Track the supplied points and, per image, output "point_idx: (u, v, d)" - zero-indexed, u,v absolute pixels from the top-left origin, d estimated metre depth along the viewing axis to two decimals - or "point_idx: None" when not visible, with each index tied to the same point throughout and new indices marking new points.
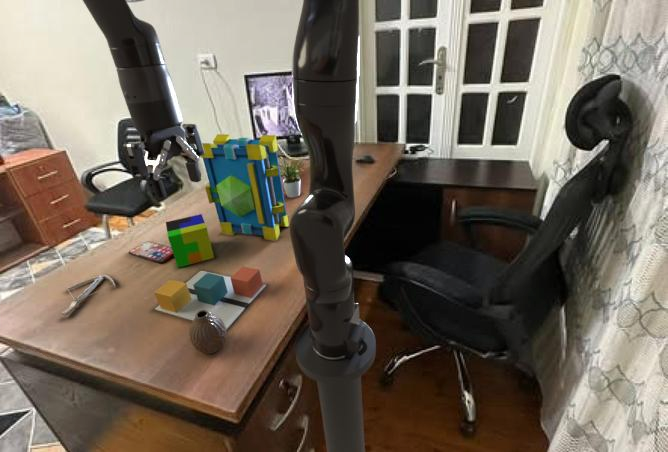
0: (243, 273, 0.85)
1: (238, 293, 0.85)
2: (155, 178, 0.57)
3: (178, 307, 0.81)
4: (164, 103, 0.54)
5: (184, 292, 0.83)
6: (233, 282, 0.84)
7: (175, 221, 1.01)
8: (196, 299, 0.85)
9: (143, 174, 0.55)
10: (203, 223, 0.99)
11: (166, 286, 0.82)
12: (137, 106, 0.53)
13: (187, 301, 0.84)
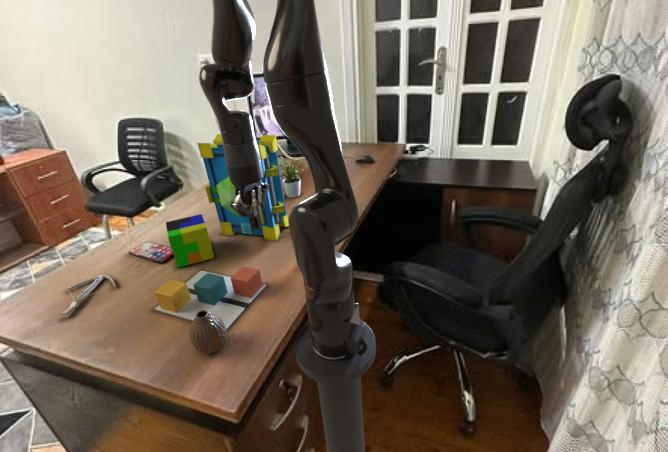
0: (243, 273, 0.85)
1: (238, 293, 0.85)
2: (255, 215, 0.83)
3: (178, 307, 0.81)
4: (255, 166, 0.77)
5: (184, 292, 0.83)
6: (233, 282, 0.84)
7: (175, 221, 1.01)
8: (196, 299, 0.85)
9: (249, 213, 0.81)
10: (203, 223, 0.99)
11: (166, 286, 0.82)
12: (237, 169, 0.75)
13: (187, 301, 0.84)
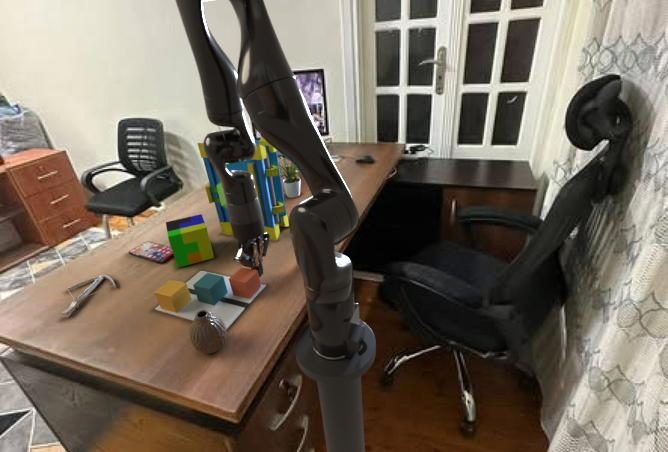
0: (241, 273, 0.84)
1: (236, 294, 0.85)
2: (257, 265, 0.87)
3: (178, 307, 0.81)
4: (256, 223, 0.80)
5: (184, 292, 0.83)
6: (231, 283, 0.83)
7: (175, 221, 1.01)
8: (196, 299, 0.85)
9: (251, 264, 0.85)
10: (203, 223, 0.99)
11: (166, 286, 0.82)
12: (239, 226, 0.79)
13: (187, 301, 0.84)
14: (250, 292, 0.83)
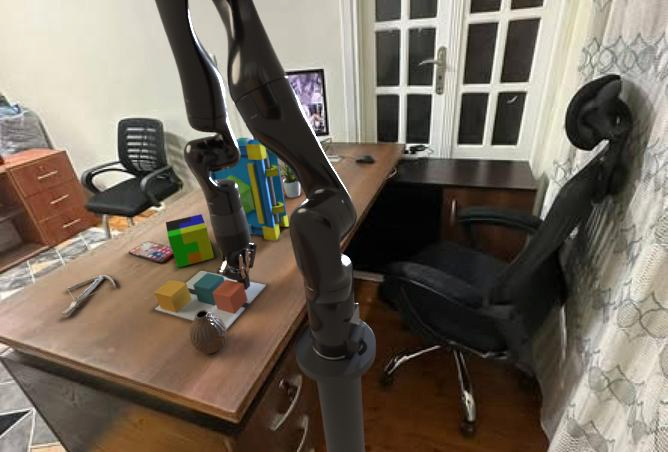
0: (225, 287, 0.80)
1: (221, 308, 0.81)
2: (243, 277, 0.82)
3: (178, 307, 0.81)
4: (241, 234, 0.76)
5: (184, 292, 0.83)
6: (215, 297, 0.79)
7: (175, 221, 1.01)
8: (196, 299, 0.85)
9: (237, 277, 0.80)
10: (203, 223, 0.99)
11: (166, 286, 0.82)
12: (223, 238, 0.75)
13: (187, 301, 0.84)
14: (235, 306, 0.79)
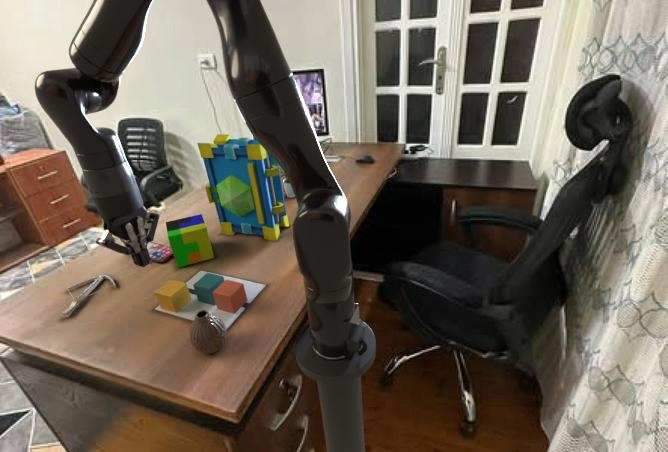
0: (226, 287, 0.80)
1: (221, 308, 0.81)
2: (136, 251, 0.69)
3: (178, 307, 0.81)
4: (124, 196, 0.62)
5: (184, 292, 0.83)
6: (215, 297, 0.79)
7: (175, 221, 1.01)
8: (196, 299, 0.85)
9: (126, 250, 0.67)
10: (203, 223, 0.99)
11: (166, 286, 0.82)
12: (100, 199, 0.61)
13: (187, 301, 0.84)
14: (235, 306, 0.79)
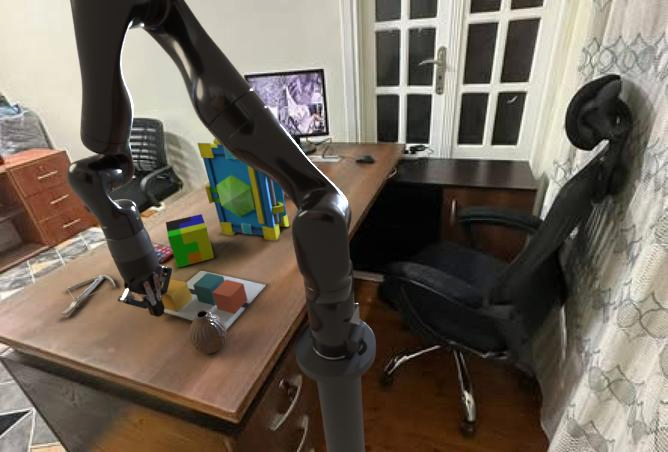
0: (226, 287, 0.80)
1: (221, 308, 0.81)
2: (153, 304, 0.76)
3: (178, 306, 0.82)
4: (143, 259, 0.70)
5: (185, 292, 0.83)
6: (215, 297, 0.79)
7: (175, 221, 1.01)
8: (196, 299, 0.85)
9: (144, 305, 0.74)
10: (203, 223, 0.99)
11: None
12: (121, 264, 0.68)
13: (188, 300, 0.84)
14: (235, 306, 0.79)
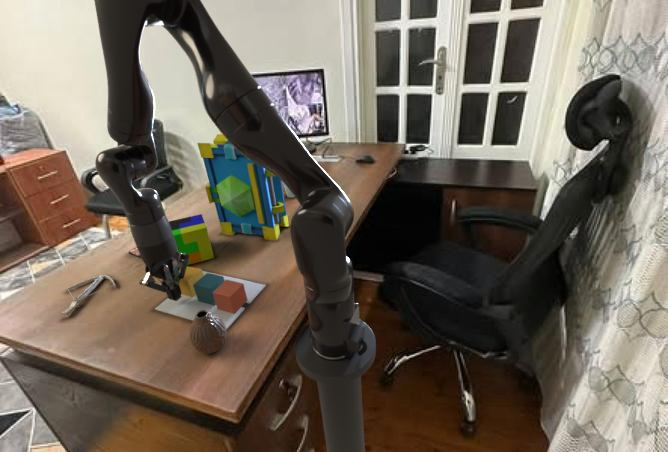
0: (226, 287, 0.80)
1: (221, 308, 0.81)
2: (171, 288, 0.81)
3: (194, 292, 0.86)
4: (163, 244, 0.74)
5: (200, 278, 0.87)
6: (215, 297, 0.79)
7: (175, 221, 1.01)
8: (196, 299, 0.85)
9: (163, 288, 0.78)
10: (203, 223, 0.99)
11: None
12: (144, 248, 0.73)
13: None
14: (235, 306, 0.79)
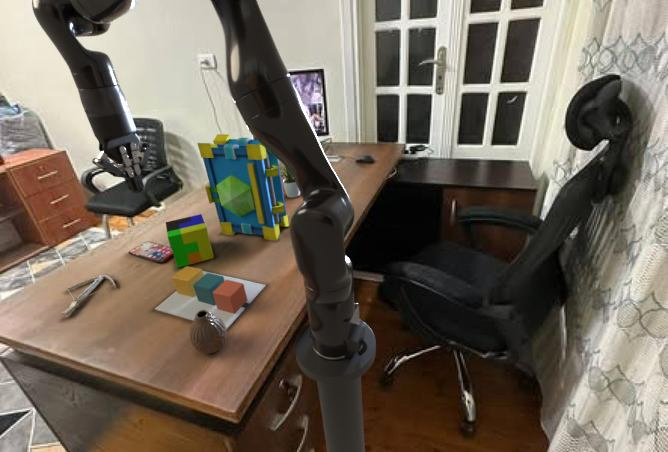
0: (226, 287, 0.80)
1: (221, 308, 0.81)
2: (130, 176, 0.74)
3: (194, 292, 0.86)
4: (117, 116, 0.67)
5: (200, 278, 0.87)
6: (215, 297, 0.79)
7: (175, 221, 1.01)
8: (196, 299, 0.85)
9: (120, 172, 0.72)
10: (203, 223, 0.99)
11: (183, 271, 0.87)
12: (95, 119, 0.66)
13: None
14: (235, 306, 0.79)
